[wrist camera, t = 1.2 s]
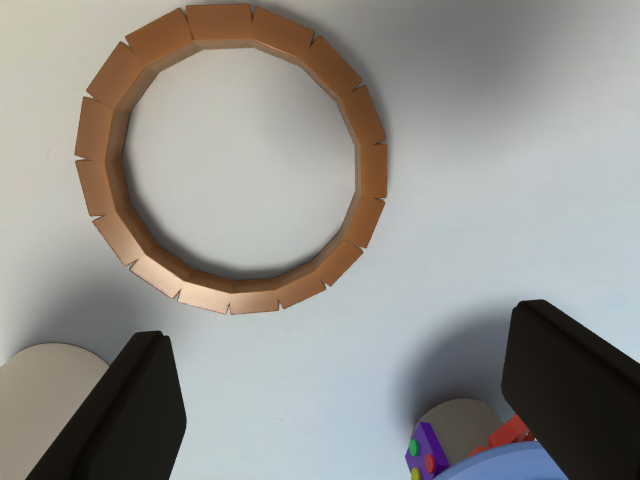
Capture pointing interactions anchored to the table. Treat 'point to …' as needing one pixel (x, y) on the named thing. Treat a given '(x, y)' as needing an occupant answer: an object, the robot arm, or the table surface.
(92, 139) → the ring
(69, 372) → the cup
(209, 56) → the table surface
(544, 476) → the toy robot
